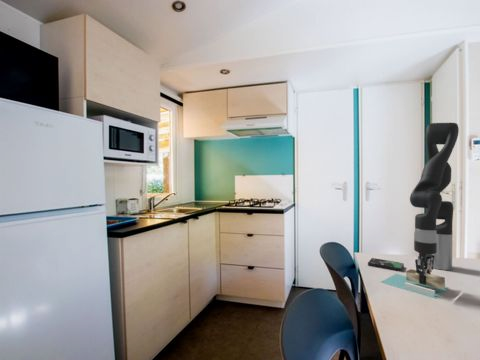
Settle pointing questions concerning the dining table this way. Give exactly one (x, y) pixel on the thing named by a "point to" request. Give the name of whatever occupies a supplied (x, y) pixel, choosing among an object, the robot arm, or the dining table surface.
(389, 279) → the rubber mat
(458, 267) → the dining table surface
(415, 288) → the pair of grey bars
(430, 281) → the tan rectangular block
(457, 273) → the dining table surface
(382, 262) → the disk drive
